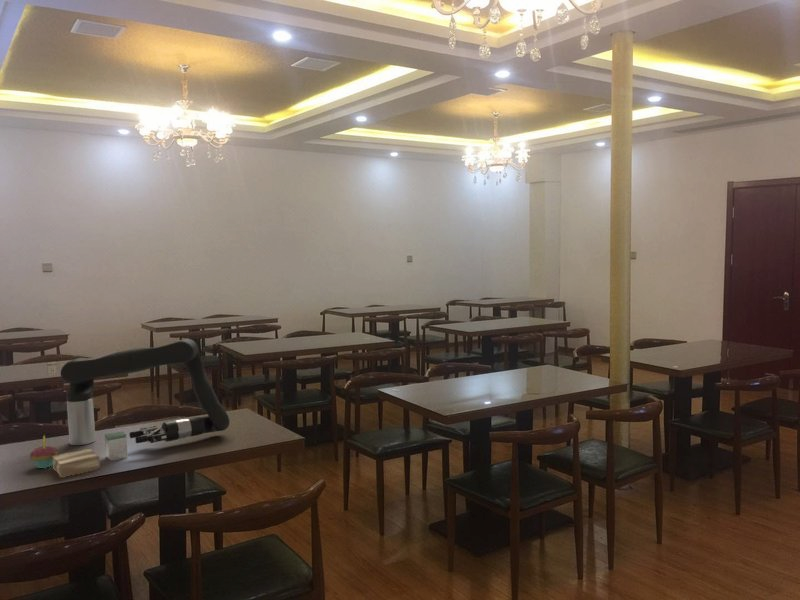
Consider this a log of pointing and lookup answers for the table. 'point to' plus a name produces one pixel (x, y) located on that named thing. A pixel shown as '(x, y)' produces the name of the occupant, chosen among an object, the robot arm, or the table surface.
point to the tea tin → (116, 445)
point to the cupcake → (43, 455)
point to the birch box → (75, 462)
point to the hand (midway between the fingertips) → (132, 437)
